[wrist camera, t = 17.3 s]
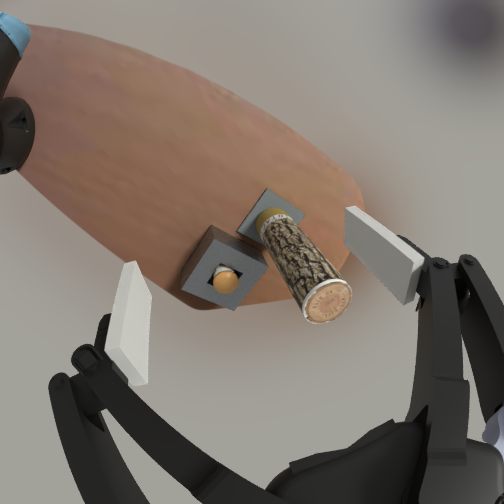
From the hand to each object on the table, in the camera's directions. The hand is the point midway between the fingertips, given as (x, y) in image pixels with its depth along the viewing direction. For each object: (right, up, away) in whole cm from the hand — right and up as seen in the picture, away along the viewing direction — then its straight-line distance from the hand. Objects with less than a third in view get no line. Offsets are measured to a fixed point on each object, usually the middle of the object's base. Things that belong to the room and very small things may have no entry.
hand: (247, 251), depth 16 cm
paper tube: (+4, +6, +38) cm, 38 cm away
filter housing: (-6, -2, +40) cm, 40 cm away
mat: (+4, +6, +38) cm, 39 cm away
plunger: (-6, -2, +39) cm, 40 cm away
